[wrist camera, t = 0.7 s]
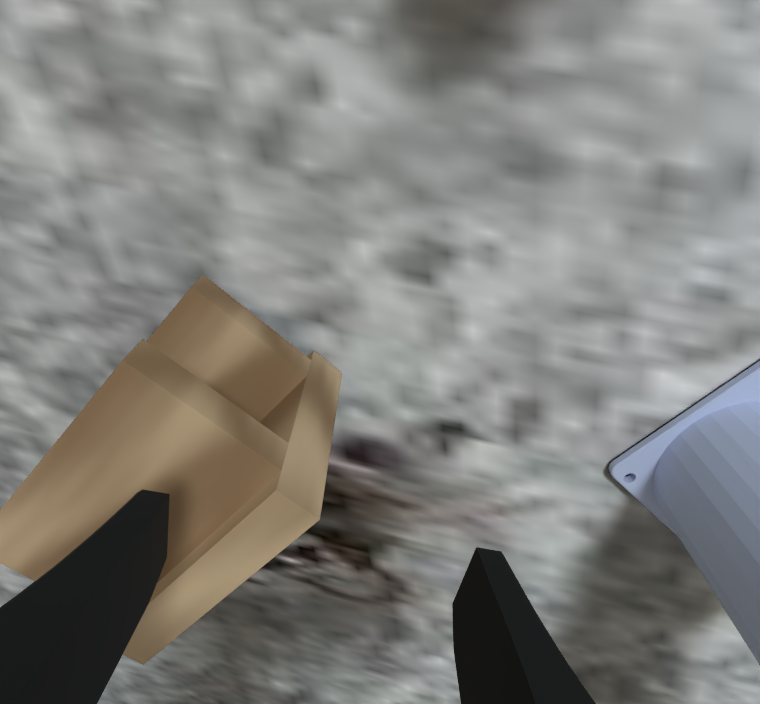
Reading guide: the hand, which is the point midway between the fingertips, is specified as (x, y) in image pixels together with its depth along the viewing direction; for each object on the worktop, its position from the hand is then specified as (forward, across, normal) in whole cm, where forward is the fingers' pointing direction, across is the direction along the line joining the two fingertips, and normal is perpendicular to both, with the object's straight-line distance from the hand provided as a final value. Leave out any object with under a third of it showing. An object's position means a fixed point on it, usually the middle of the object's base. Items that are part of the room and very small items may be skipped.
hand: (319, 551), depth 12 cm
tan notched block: (+10, +8, +1) cm, 13 cm away
